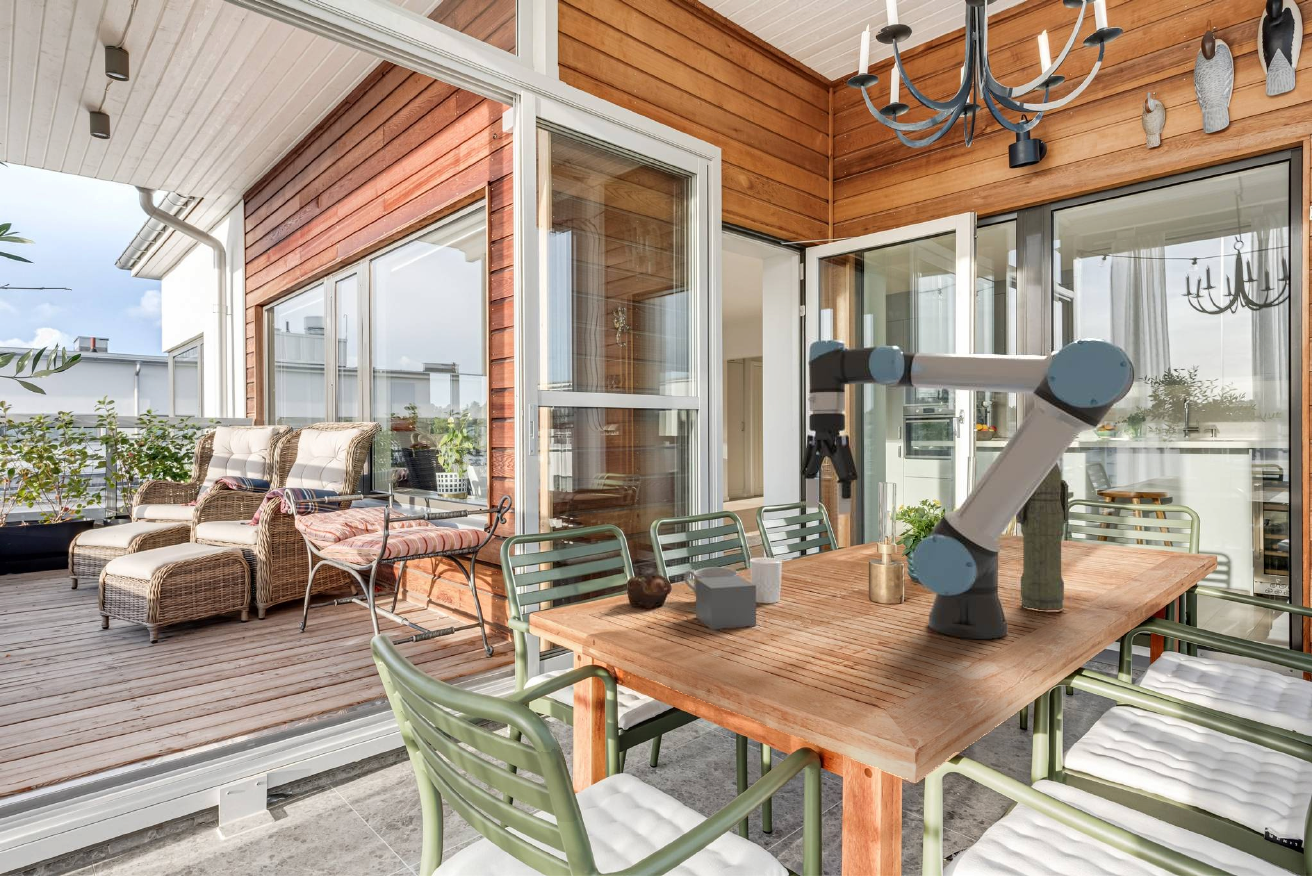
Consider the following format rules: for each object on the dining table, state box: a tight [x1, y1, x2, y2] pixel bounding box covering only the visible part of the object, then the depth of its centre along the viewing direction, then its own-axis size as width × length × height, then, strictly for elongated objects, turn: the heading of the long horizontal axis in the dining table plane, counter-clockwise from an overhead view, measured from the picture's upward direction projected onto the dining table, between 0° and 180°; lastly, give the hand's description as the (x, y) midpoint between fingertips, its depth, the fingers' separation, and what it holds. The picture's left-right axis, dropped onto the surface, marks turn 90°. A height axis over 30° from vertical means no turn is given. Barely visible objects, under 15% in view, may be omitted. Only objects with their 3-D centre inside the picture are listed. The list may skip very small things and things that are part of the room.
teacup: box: [683, 566, 739, 596], centre depth 173 cm, size 14×11×8 cm
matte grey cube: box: [695, 575, 757, 631], centre depth 156 cm, size 10×10×9 cm
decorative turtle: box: [626, 572, 673, 610], centre depth 171 cm, size 10×15×8 cm, turn 147°
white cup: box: [749, 556, 783, 604], centre depth 176 cm, size 8×8×10 cm
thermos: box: [1015, 462, 1069, 610], centre depth 167 cm, size 9×12×35 cm
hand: (827, 510), depth 154 cm, fingers open, 13 cm apart
